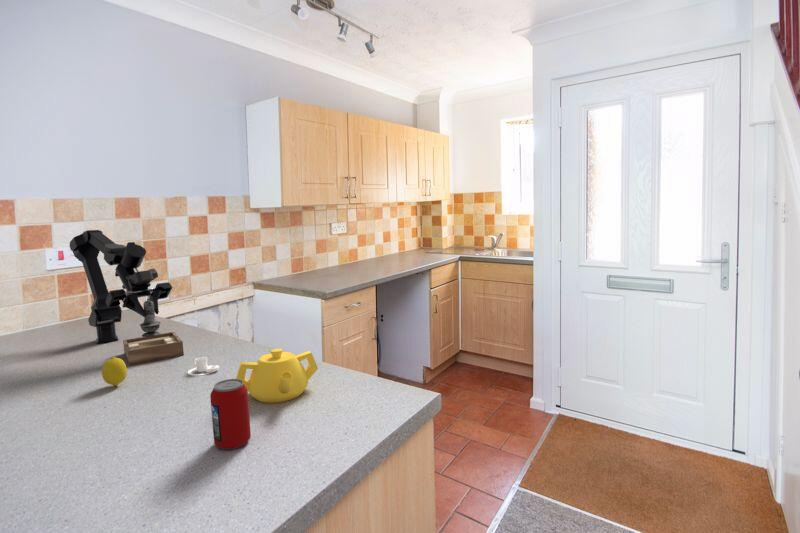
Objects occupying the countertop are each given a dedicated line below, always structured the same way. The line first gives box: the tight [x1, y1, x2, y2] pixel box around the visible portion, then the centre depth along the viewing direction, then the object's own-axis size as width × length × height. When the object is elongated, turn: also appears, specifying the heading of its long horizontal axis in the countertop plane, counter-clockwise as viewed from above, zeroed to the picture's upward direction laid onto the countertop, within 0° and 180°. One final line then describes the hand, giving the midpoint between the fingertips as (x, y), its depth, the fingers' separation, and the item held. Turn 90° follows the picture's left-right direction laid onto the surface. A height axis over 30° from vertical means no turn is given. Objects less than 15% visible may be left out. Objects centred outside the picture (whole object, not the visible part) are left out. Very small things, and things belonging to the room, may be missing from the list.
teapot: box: [235, 348, 319, 404], centre depth 109 cm, size 20×18×11 cm
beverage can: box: [209, 378, 252, 450], centre depth 87 cm, size 7×7×12 cm
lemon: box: [101, 356, 128, 387], centre depth 118 cm, size 6×6×8 cm
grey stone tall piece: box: [139, 297, 161, 337], centre depth 143 cm, size 6×6×12 cm
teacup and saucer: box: [187, 356, 220, 377], centre depth 128 cm, size 9×8×4 cm
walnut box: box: [122, 331, 184, 367], centre depth 145 cm, size 15×15×4 cm
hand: (151, 314), depth 143 cm, fingers closed on grey stone tall piece, 4 cm apart
